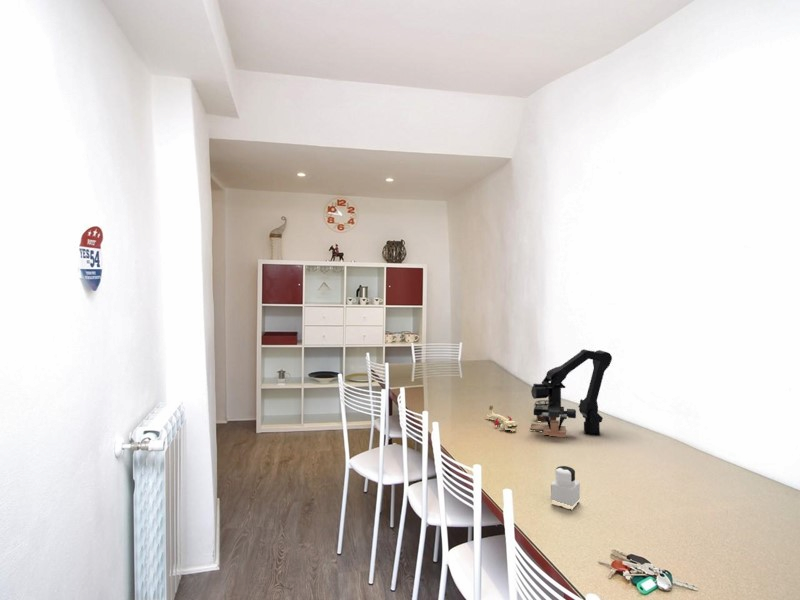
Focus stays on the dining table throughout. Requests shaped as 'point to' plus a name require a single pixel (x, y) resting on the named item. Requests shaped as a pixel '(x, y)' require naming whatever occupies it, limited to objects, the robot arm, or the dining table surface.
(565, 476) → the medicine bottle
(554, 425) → the stub
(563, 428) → the ticket board
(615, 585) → the dining table surface
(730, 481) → the dining table surface
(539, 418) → the food container
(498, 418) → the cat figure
